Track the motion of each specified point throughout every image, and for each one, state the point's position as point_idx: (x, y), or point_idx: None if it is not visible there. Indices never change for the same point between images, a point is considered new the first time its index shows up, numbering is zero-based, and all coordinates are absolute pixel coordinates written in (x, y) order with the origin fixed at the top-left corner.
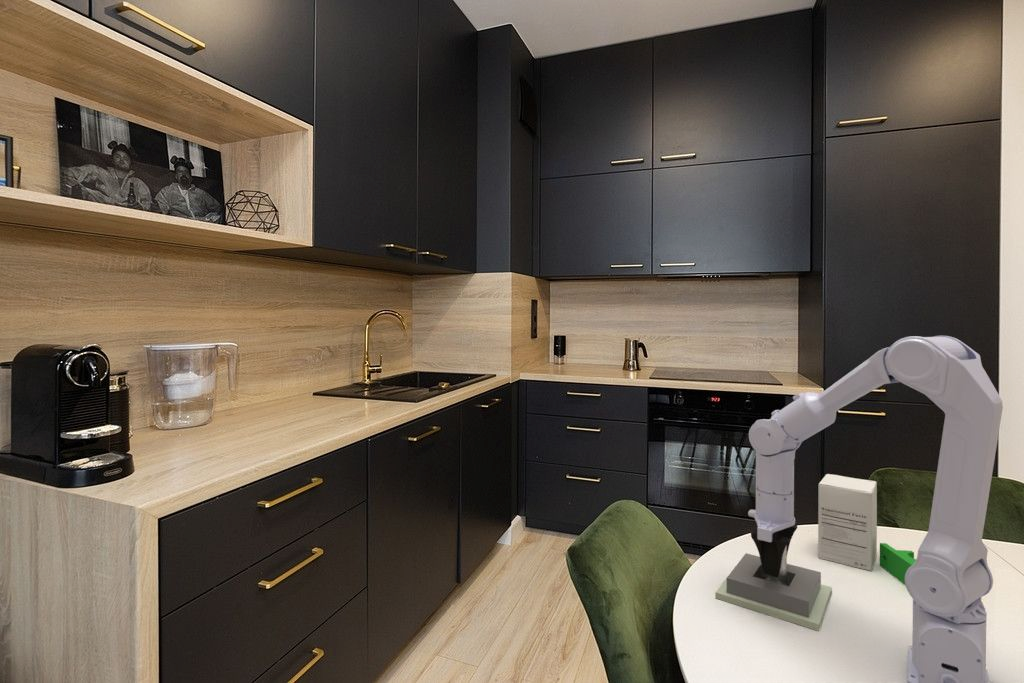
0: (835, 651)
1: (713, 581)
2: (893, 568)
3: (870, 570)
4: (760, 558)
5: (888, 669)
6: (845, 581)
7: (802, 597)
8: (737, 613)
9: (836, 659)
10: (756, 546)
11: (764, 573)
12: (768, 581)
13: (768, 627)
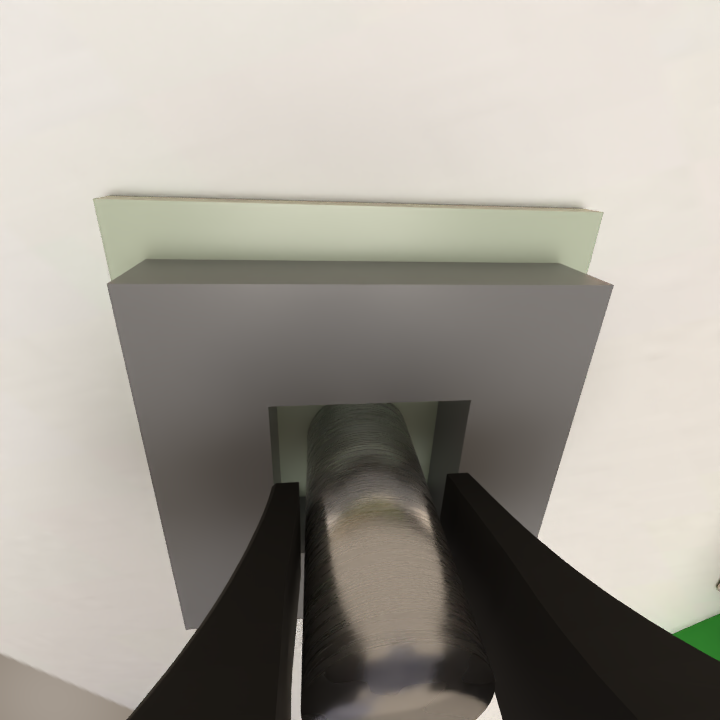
0: (100, 617)
1: (317, 119)
2: (717, 648)
3: (717, 588)
4: (242, 557)
5: (126, 692)
6: (610, 555)
7: (205, 609)
8: (54, 336)
9: (55, 626)
10: (178, 659)
11: (271, 488)
12: (265, 481)
13: (58, 460)
